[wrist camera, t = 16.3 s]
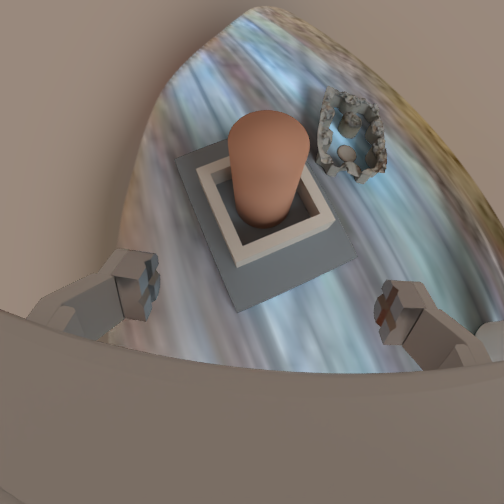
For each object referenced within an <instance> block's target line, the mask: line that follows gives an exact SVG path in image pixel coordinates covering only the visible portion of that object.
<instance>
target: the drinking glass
mask: <svg viewBox="0 0 504 504" xmlns="http://www.w3.org/2000/svg"><path fill="white" fill-rule="evenodd" d="M475 337H477V338H478V339H479V340H480V341H482V343H483V345H484V346H485V348H486V350H487V352H488V354H489V356H490V358H491V360H492V362H497V361H502V360H504V320H501V321H495V322H487V323H484V324H483V325H482V326H481V327H480V328H479V329H478V330H477V332H476V334H475Z"/></svg>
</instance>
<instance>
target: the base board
mask: <svg viewBox="0 0 504 504" xmlns="http://www.w3.org/2000/svg"><path fill="white" fill-rule="evenodd" d="M174 160H175V163H176V166H177V168H178V171H179V173H180V176H181V179H182V181H183V184H184V186H185V189H186V191H187V194H188V196H189V199H190V202H191V204H192V207H193V209H194V212H195V214H196V217H197V219H198V222H199V224H200V226H201V229H202V231H203V234H204V236H205V239H206V241H207V244H208V246H209V248H210V251H211V253H212V256H213V258H214V260H215V263H216V265H217V267H218V270H219V272H220V275H221V277H222V279H223V282H224V284H225V286H226V289H227V291H228V293H229V295H230V298H231V300H232V302H233V305H234V307H235V309H236V311H237V313H239V312H241V311H243V310H245V309H248V308H250V307H252V306H255V305H257V304H259V303H261V302H264V301H266V300H268V299H270V298H273V297H275V296H277V295H279V294H281V293H284V292H286V291H288V290H290V289H292V288H295V287H297V286H299V285H301V284H303V283H305V282H307V281H310V280H312V279H314V278H316V277H318V276H320V275H322V274H324V273H326V272H329V271H331V270H333V269H335V268H337V267H339V266H341V265H343V264H345V263H347V262H349V261H351V260H353V259H355V258H356V257H358V256H357V253H356V251H355V249H354V247H353V245H352V243H351V241H350V239H349V237H348V235H347V233H346V231H345V229H344V227H343V225H342V223H341V221H340V220H339V218H338V216H337V214H336V212H335V210H334V208H333V206H332V204H331V203H330V201H329V199H328V197H327V195H326V193H325V191H324V190H323V188H322V186H321V184H320V182H319V181H318V179H317V177H316V175H315V174H314V172H313V170H312V168H311V167H310V165H309V163H308V162H307V160H306V162H305V165H304V168H303V171H302V174H301V177H300V180H299V183H298V186H297V189H296V192H295V195H294V198H293V201H292V204H291V207H290V210H289V213H288V215H287V217H286V218H285V219H284V220H283V221H282V222H281V223H280V224H278V225H277V226H274V227H272V228H267V229H260V228H255V227H252V226H250V225H248V224H247V223H245V222H244V221H243V220H242V219H241V218H240V216H239V215H238V213H237V210H236V205H235V197H234V189H233V181H232V173H231V165H230V157H229V149H228V139H225V140H222V141H220V142H217V143H214V144H211V145H209V146H206V147H204V148H201V149H198V150H196V151H193V152H191V153H188V154H186V155H183V156H181V157H178V158H176V159H174Z"/></svg>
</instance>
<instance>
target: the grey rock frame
mask: <svg viewBox="0 0 504 504" xmlns="http://www.w3.org/2000/svg"><path fill="white" fill-rule="evenodd" d="M332 106H333V107H337V108H339V111H340V112H341V113H342V114H343V117H342V120H341V122H340V124H339V126H338V131H339V132H340V134H341V135H342V136H343V137H345V138H349V139H352V138H354V137H355V136H356V134H357V133H358V131H359V129H360V128H361V126H362V121H361V119H360V118H359V117H358V116H357V115H356V113H359V114H362V115H364V117H365V119H366V120H367V121H368V122H369V123H371V124H370V126H369V128H368V129H367V131H366V133H365V138H366V140H367V142H369V143H370V144H371V145H372V147H371V148H370V150H369V151H368V153H367V154H366V156H365V161H366V163H367V165H368V166H369V167H370V168H372V169H370V168H368V169H365V170H363V172H361V169H360V167H359V166H358V165H356V164H355V163H353V161H354V160H355V159H356V152H355V151H354V150H353V149H352V148H351V147H350V146H347V145H343V146H340V147H339V149H338V151H337V153H338V156H339V157H340V159H341V160H343V161H344V163H343V164H342V165H341V167H336V166H334V165H333V161H332V158H331V156H330V155H328V154H327V153H326V152H327V151H328V149H329V146H330V144H331V142H332V135H333V132H332V131H331V130H330V129H329V126H330V124H331V122H332V119H333V117H334V115H335V110H334V108H333V107H332ZM317 145H318V150H319V151H318V154H317V156H316V163H317V164H319V165H321V166H322V167H323V168H324V170H325V172H326V174H327V175H329V176H332V177H335V176H336V174H337V173H338V172H339V171H343V170H344V171H347V172H348V173H349V174H351V175H353V176H354V178H355V181H356V182H357V183H360V184H365V182H366V181H367V180H368V179H369V178H370V177H373V176H375V175H376V174H377V173H378V172H380V173H385V169H386V164H387V152H386V149H385V140H384V127H383V123H382V121H381V117H380V116H379V107H378V105H377V104H369V103H367V102H366V99H365V98H358V97H356V96H355V95H350V94H349V93H347V92H339V91H338V90H336V89H334V88H332V87H330V86H328V87H327V89H326V92H325V95H324V98H323V102H322V108H321V111H320V122H319V127H318V131H317Z"/></svg>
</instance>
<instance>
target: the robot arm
mask: <svg viewBox="0 0 504 504" xmlns="http://www.w3.org/2000/svg"><path fill="white" fill-rule="evenodd" d="M158 264H159V263H158V256H157V255H156V253H149V252H142V251H136V250H129V249H121V248H118V249H115V251H114V252H113V253H112V254H111V256H110V257H109V258H108V259H107V261H106V262H105V263H104V265H103V266H102V267H101V269H100V270H99V271H98V273H92V274H90V275H88V276H86V277H84V278H81V279H79V280H77V281H75V282H73V283H71V284H69V285H67V286H65V287H63V288H61V289H59V290H57V291H55V292H53V293H51V294H49V295H47V296H45V297H43V298H41V299H40V301H39V302H38V303H37V305H36V306H35V307H34V309H33V310H32V311H31V313H30V314H29V315H28V317H27V318H26V319H25V318H21V317H19V316H16V315H14V314H11V313H9V312H5V311H3V310H1V309H0V504H504V360H502V361H497V362H492V360H491V358H490V356H489V354H488V352H487V350H486V348H485V346H484V345H483V343H482V341H480V340H479V339H478V338H477V337H475V336H474V335H473V334H472V333H470V332H469V331H468V330H467V329H465V328H464V327H463V326H462V325H460V324H459V323H458V322H456V321H455V320H454V319H453V318H451V317H450V316H449V315H447V314H446V313H445V312H443V311H442V310H440V309H437V307H436V305H435V303H434V302H433V300H432V298H431V296H430V295H429V293H428V291H427V289H426V288H425V286H424V284H423V283H421V282H414V281H397V280H386V281H385V282H384V284H383V286H382V288H381V289H382V292H383V294H382V295H380V296H379V297H378V298H377V300H376V302H375V305H374V319H375V322H376V323H377V324H378V325H379V326H380V329H379V334H380V337H381V340H382V343H383V345H402V347H403V348H404V349H405V350H406V351H407V352H408V354H409V355H410V356H411V357H412V358H413V359H414V360H415V362H416V363H417V364H418V365H419V366H420V367H421V368H422V370H423V371H415V372H399V373H367V374H341V373H307V372H288V371H274V370H262V369H251V368H242V367H233V366H225V365H217V364H210V363H203V362H196V361H190V360H184V359H178V358H172V357H167V356H161V355H156V354H151V353H146V352H141V351H137V350H132V349H128V348H123V347H119V346H115V345H111V344H107V343H103V342H99V341H96V340H98V339H99V338H100V337H102V336H103V335H104V334H105V333H107V332H108V331H109V330H111V329H112V328H113V327H115V326H116V325H117V324H118V323H120V322H121V321H122V320H124V318H127V319H133V320H139V321H145V322H146V321H147V319H148V317H149V314H150V312H151V310H152V304H151V303H152V302H153V301H155V300H156V299H157V296H158V294H159V289H160V274H159V273H158V272H157V271H156V268H157V266H158Z"/></svg>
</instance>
